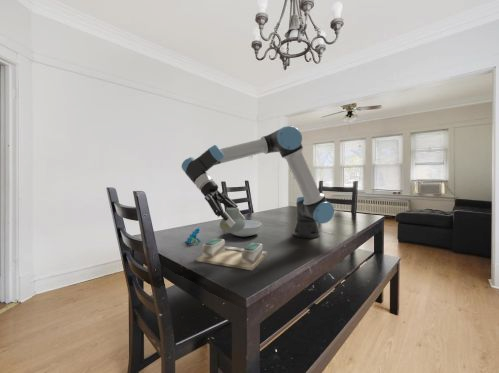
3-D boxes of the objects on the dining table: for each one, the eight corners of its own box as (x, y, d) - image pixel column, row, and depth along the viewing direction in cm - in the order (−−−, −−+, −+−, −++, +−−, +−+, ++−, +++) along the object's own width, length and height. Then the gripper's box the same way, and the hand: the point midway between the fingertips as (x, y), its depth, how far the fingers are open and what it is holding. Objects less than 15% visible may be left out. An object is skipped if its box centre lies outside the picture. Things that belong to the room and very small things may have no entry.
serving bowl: (221, 238, 134) (221, 226, 133) (234, 229, 154) (234, 219, 153) (256, 241, 128) (256, 228, 127) (265, 231, 148) (264, 220, 147)
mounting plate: (267, 254, 106) (267, 241, 105) (252, 270, 89) (252, 254, 89) (217, 248, 116) (217, 235, 115) (196, 260, 99) (195, 246, 99)
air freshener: (217, 230, 103) (216, 208, 102) (231, 227, 109) (230, 206, 108) (233, 235, 95) (233, 211, 95) (247, 231, 101) (247, 208, 101)
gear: (186, 237, 130) (198, 224, 130) (193, 243, 132) (206, 231, 132) (184, 245, 120) (197, 232, 120) (192, 252, 121) (206, 239, 121)
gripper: (214, 189, 117) (243, 223, 112) (186, 193, 97) (220, 234, 91) (223, 179, 115) (253, 213, 109) (196, 180, 94) (231, 222, 89)
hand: (238, 222), depth 100 cm, fingers closed on air freshener, 10 cm apart
